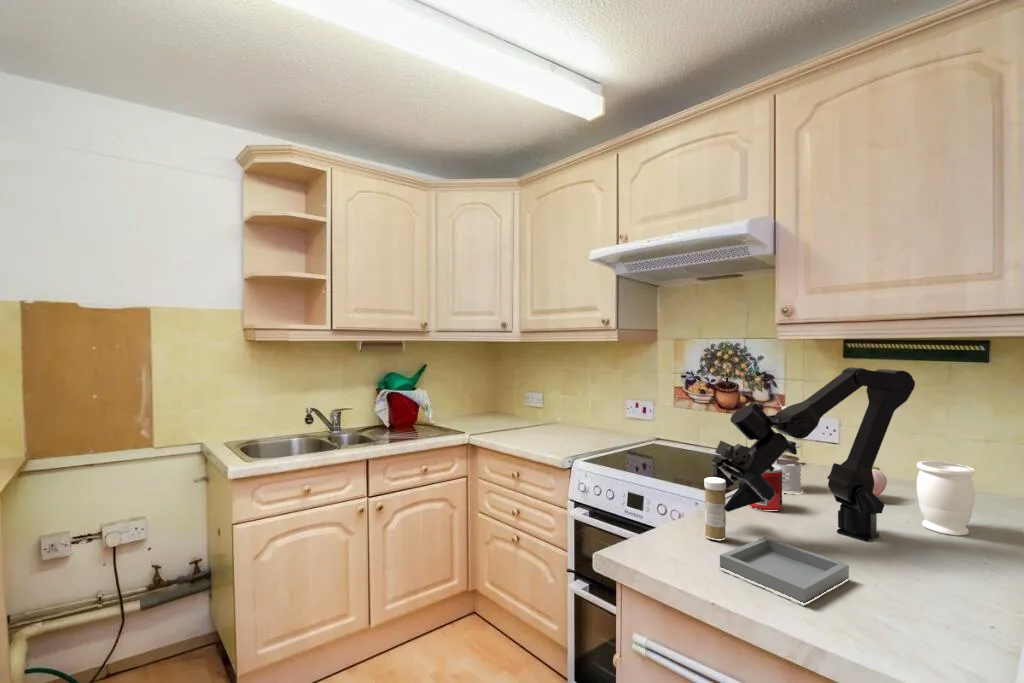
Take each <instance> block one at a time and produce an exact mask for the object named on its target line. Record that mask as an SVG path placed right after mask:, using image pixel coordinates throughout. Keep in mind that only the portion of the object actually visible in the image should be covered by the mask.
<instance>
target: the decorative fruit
mask: <svg viewBox="0 0 1024 683" xmlns="http://www.w3.org/2000/svg"><path fill="white" fill-rule="evenodd" d="M880 469H881V468H880V467H878V466H875V465H873V467H872V473H873V478H874V482H875V484H874V489H873V494H874V495H875V496H876V497H878V496H880V495H881V494H882V493H883V492H884V491H885V489H886V487H887V485H888V479H887V477H886V475H885V474H884V473H883V472H882V471H881V470H880Z"/></svg>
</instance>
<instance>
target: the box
mask: <svg viewBox="0 0 1024 683" xmlns="http://www.w3.org/2000/svg"><path fill="white" fill-rule="evenodd" d="M720 567H721V568H724V569H726V570H729V571H731V572H733V573H735V574H738V575H740V576H742V577H744V578H746V579H749V580H751V581H754V582H756V583H758V584H761V585H763V586H765V587H768V588H771V589H773V590H775V591H778V592H780V593H782V594H785V595H787V596H789V597H792V598H794V599H796V600H798V601H800V602H803V603H806V602H808V601H810V600H812V599H814V598H815V597H817V596H819V595H821V594H822V593H824V592H826V591H827V590H829V589H831V588H833V587H834V586H836V585H838V584H840V583H842V582H843V581H845V580H846V579H848V578H849V579H850V577H849V576H850V575H849V574H850V570H849V569H850V565H849V564H847V563H844V562H843V561H842V562H841V561H839V560H835V559H832V558H829V557H827V556H824V555H821V554H818V553H815V552H812V551H809V550H805V549H803V548H800V547H798V546H795V545H791V544H789V543H785V542H783V541H780V540H777V539H774V538H771V537H768V536H764V537H761V538H758V539H757V540H754V541H751V542H749V543H746V544H744V545H740V546H738V547H735V548H734V549H731V550H729V551H727V552H724V553H721V554H720V555H719V568H720Z"/></svg>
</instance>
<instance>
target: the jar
mask: <svg viewBox="0 0 1024 683" xmlns="http://www.w3.org/2000/svg"><path fill="white" fill-rule="evenodd" d="M916 468H918V469H919V472H918V474H917V479H916V495H917V499H918V504H919V510H920V512H921V514H922V516H923V518H924V520H922V521H921V524H922V527H924V528H926V529H928V530H930V531H933V532H935V533H939V534H944V535H948V534H949V536H950V535H951V536H966V535H969V533H970V531H969V529H968V527H967V525H969V523H970V521H971V519H972V515H973V508H974V507H975V506H974V505H975V502H976V500H975V499H976V492H975V484H974V480H973V478H972V476H974V475H975V473H976V472H975V469H974V468H973V467H970V466H967V465H965V464H964V465H963V464H958V463H954V462H953V463H952V462H946V461H936V460H921V461H918V462H917V461H916Z"/></svg>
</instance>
